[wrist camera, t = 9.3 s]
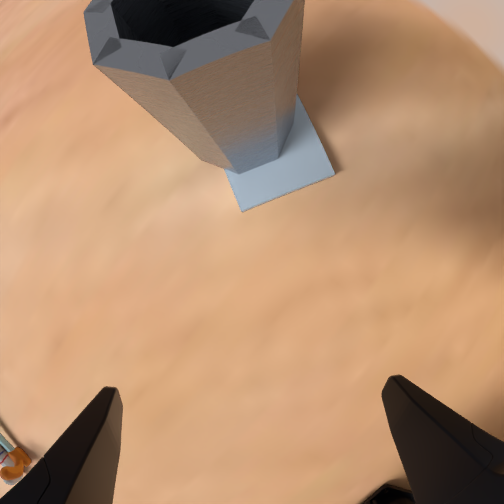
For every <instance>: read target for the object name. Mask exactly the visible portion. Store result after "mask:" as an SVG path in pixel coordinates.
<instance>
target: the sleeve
mask: <svg viewBox="0 0 504 504" xmlns="http://www.w3.org/2000/svg"><path fill="white" fill-rule="evenodd" d="M304 2H305V0H92V1H91V2H90V4H89V5H88V7H87V8H86V9H85V11H84V18H85V24H86V30H87V36H88V41H89V47H90V52H91V57H92V62H93V65H94V66H95V67H96V68H98V69H99V70H100V71H101V72H102V73H104V74H105V75H106V76H107V77H108V78H109V79H111V80H112V81H113V82H114V83H115V84H116V85H118V86H119V87H120V88H121V89H122V90H123V91H125V92H126V93H127V94H128V95H129V96H130V97H131V98H133V99H134V100H135V101H136V102H137V103H138V104H139V105H141V106H142V107H143V108H144V109H145V110H146V111H147V112H149V113H150V114H151V115H152V116H153V117H154V118H155V119H157V120H158V121H159V122H160V123H161V124H162V125H163V126H164V127H166V128H167V129H168V130H169V131H170V132H171V133H172V134H173V135H174V136H176V137H177V138H178V139H179V140H180V141H181V142H182V143H183V144H184V145H186V146H187V147H188V148H189V149H190V150H191V151H192V152H193V153H194V154H196V155H197V156H198V157H199V158H200V159H201V160H203V161H205V162H208V163H211V164H213V165H216V166H218V167H221V168H223V169H226V170H229V171H231V172H234V173H236V174H242V173H244V172H247V171H249V170H252V169H254V168H257V167H259V166H262V165H264V164H267V163H269V162H272V161H275V160H277V159H278V158H279V156H280V153H281V151H282V149H283V147H284V144H285V142H286V140H287V138H288V135H289V133H290V131H291V129H292V126H293V124H294V116H295V106H296V96H297V85H298V75H299V63H300V52H301V40H302V28H303V15H304Z"/></svg>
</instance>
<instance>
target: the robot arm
mask: <svg viewBox="0 0 504 504" xmlns="http://www.w3.org/2000/svg"><path fill="white" fill-rule="evenodd" d="M382 400H383V404H384V408H385V412H386V415H387V419H388V423H389V427H390V431H391V434H392V437H393V439H394V442H395V445H396V448H397V450H398V453H399V456H400V459H401V461H402V464H403V467H404V470H405V473H406V476H407V478H408V481H409V484H410V487H411V490H412V491H409V490H405V489H402V488H399V487H395V486H392V485H388V484H387V485H383V486H382V487H380V488H379V489H378V490H377V491H376V492H375V493H374V494H373V495H372V496H370V497H369V498H368V499H367V500H366V501H365V502H364V503H362V504H504V442H503V441H501V440H499V439H497V438H496V437H494V436H492V435H490V434H488V433H487V432H485V431H484V430H482V429H480V428H479V427H477V426H476V425H474V424H473V423H471V422H470V421H468V420H467V419H465V418H464V417H462V416H461V415H459V414H458V413H456V412H455V411H453V410H452V409H450V408H449V407H447V406H446V405H444V404H443V403H442V402H440V401H439V400H437V399H436V398H434V397H433V396H431V395H430V394H428V393H427V392H425V391H424V390H422V389H421V388H419V387H418V386H416V385H415V384H414V383H412V382H411V381H409V380H408V379H406V378H405V377H403V376H402V375H393V376H390V377H389V378H388V380H387V382H386V384H385V386H384V388H383V390H382ZM122 413H123V405H122V401H121V398H120V395H119V391H118V389H117V388H116V387H108V386H106V387H104V388H103V389H102V390H101V391H100V392H99V393H98V394H97V395H96V396H95V398H94V399H93V400H92V401H91V402H90V403H89V404H88V405H87V407H86V408H85V409H84V410H83V411H82V412H81V413H80V414H79V416H78V417H77V418H76V419H75V420H74V421H73V422H72V424H71V425H70V426H69V427H68V428H67V429H66V430H65V432H64V433H63V434H62V435H61V436H60V437H59V438H58V440H57V441H56V442H55V443H54V444H53V445H52V447H51V448H50V449H49V450H48V451H47V452H46V454H45V455H44V457H42V458H41V459H40V460H39V461H38V463H37V464H36V465H35V466H34V467H33V468H32V469H31V470H30V471H29V473H28V474H27V475H26V476H25V477H24V478H23V479H21V480H20V481H19V482H18V483H17V484H16V485H15V486H14V487H13V488H12V489H11V490H9V491H8V492H7V493H6V494H5V495H4V496H3V497H2V498H0V504H112V503H113V495H114V488H115V481H116V475H117V468H118V462H119V456H120V447H121V429H122Z"/></svg>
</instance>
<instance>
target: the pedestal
mask: <svg viewBox="0 0 504 504" xmlns="http://www.w3.org/2000/svg"><path fill="white" fill-rule="evenodd" d="M224 170H225V173H226V175H227V178H228V180H229V182H230V185H231V187H232V190H233V192H234V195H235V197H236V200H237V202H238V205H239V207H240V210H241V212H244V211H247V210H249V209H251V208H254V207H256V206H259V205H261V204H264V203H266V202H269V201H271V200H274V199H276V198H279V197H281V196H284V195H286V194H289V193H291V192H294V191H296V190H299V189H301V188H304V187H306V186H309V185H311V184H314V183H317V182H319V181H322V180H324V179H327V178H329V177H332V176H334V175H335V172H334V170H333V168H332V166H331V163H330V161H329V159H328V157H327V154H326V152H325V150H324V148H323V146H322V143H321V141H320V139H319V137H318V135H317V133H316V131H315V129H314V127H313V124H312V122H311V120H310V118H309V116H308V114H307V112H306V110H305V108H304V106H303V104H302V102H301V100H300V98H299V96H298V94H297V96H296V106H295V116H294V124H293V126H292V129H291V131H290V133H289V135H288V138H287V140H286V142H285V144H284V147H283V149H282V151H281V153H280V156H279V158H278V159H277V160H275V161H272V162H269V163H267V164H264V165H262V166H259V167H257V168H254V169H252V170H249V171H247V172H244V173H242V174H236V173H234V172H231V171H229V170H226V169H224Z"/></svg>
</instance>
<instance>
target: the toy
mask: <svg viewBox="0 0 504 504" xmlns="http://www.w3.org/2000/svg"><path fill="white" fill-rule="evenodd" d="M0 444H1V445H2V446H3V447H4V448H5V449H6V450H7V451H8V453H7V452H6V451H5V450H4V449H3V448H2V447H1V446H0V464H1V465H2V466H3V468H2V469H1V471H0V476H1V478H2V479H3V480H4V482H5V483H6V484H8V485H14V484H16V483H17V482H18V481H19V480H21V479H22V477H23V469H24V466H26V467H27V466H29V465H30V463H31V460H30V458H29V457H28V456H27V454H26V453H25V452H24V451H23V450H22V449H21V448H19V447H16V448H14V447H13V446H12V445H11V444H10V443H9V442H8V441H7V440H6V439H5V438H4V437H3V435H2V434H1V433H0Z"/></svg>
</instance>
